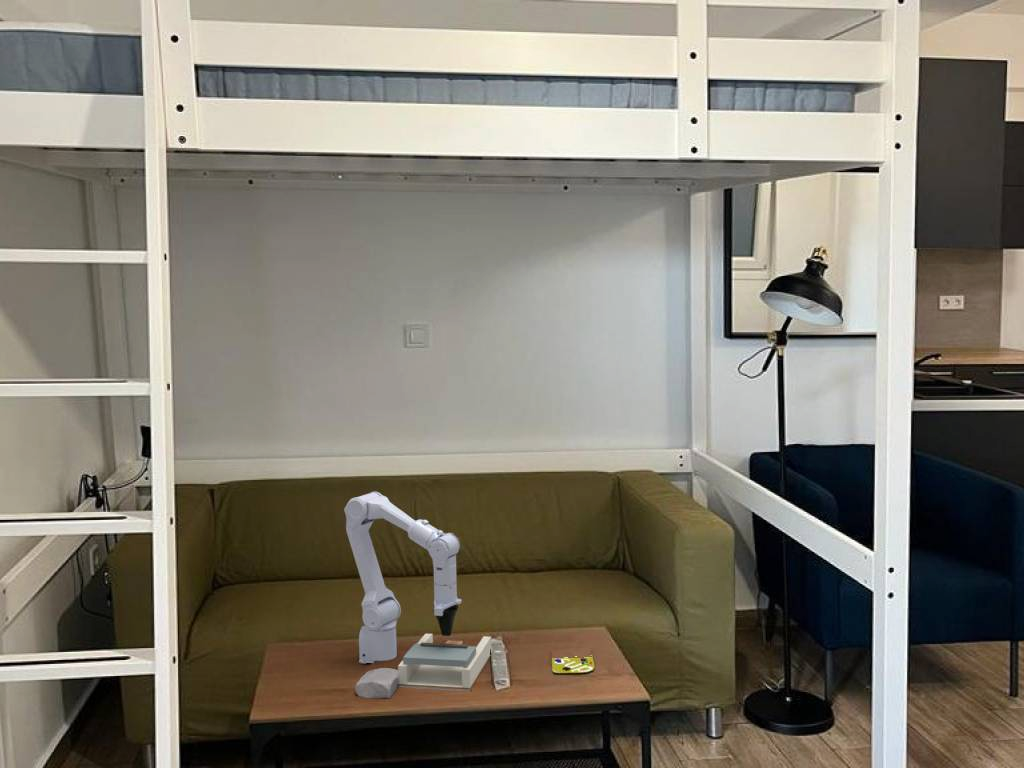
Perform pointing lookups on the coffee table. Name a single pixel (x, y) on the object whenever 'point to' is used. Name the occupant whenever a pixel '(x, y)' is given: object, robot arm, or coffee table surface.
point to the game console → (572, 666)
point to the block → (454, 642)
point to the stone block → (378, 683)
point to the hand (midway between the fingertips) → (446, 634)
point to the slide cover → (440, 654)
